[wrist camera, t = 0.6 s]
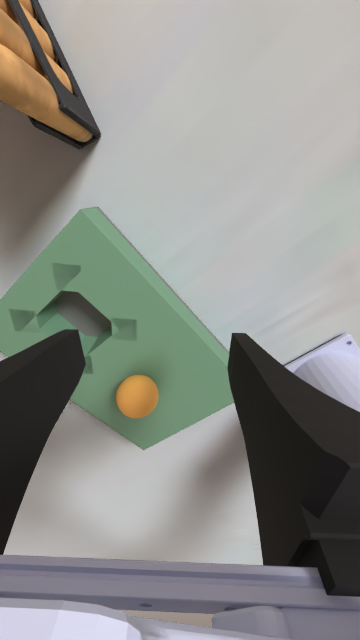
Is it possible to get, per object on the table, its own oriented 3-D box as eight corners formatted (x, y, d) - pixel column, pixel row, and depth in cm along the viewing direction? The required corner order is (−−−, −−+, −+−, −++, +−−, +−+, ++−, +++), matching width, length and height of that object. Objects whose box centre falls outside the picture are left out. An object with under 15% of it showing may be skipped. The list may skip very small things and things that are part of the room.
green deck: (244, 369, 24) (252, 392, 21) (147, 424, 29) (143, 450, 26) (97, 206, 17) (80, 209, 14) (0, 313, 22) (-28, 331, 19)
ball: (168, 383, 21) (165, 415, 18) (141, 400, 22) (133, 433, 19) (141, 359, 20) (133, 389, 17) (113, 378, 21) (101, 410, 18)
